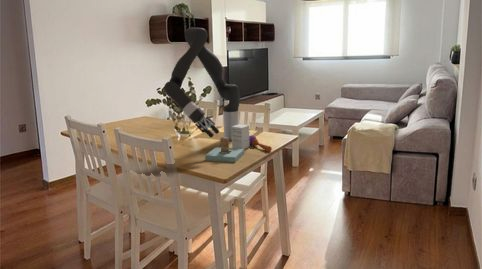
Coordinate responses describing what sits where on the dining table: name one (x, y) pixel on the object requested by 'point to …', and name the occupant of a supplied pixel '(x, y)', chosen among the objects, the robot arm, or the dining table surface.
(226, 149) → the peg
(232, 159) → the board
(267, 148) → the kendama
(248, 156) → the dining table surface
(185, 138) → the dining table surface
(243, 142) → the supplement box
